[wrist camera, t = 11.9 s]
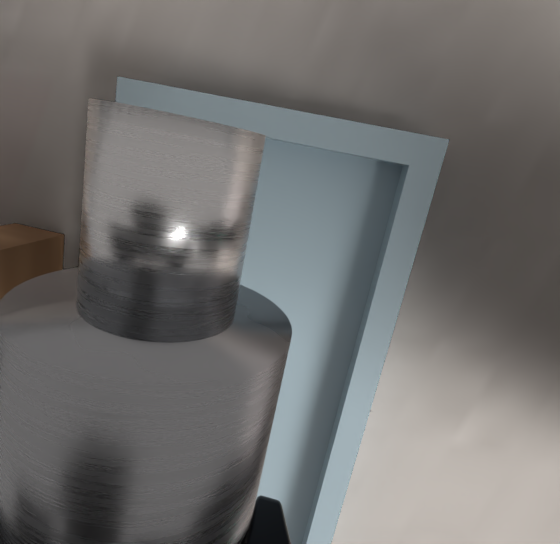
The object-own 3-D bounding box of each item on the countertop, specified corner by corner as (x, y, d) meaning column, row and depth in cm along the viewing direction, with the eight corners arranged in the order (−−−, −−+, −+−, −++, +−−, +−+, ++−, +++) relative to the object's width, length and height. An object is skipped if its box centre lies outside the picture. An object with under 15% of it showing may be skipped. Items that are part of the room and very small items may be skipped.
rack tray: (435, 143, 12) (449, 139, 10) (304, 604, 17) (299, 650, 15) (146, 87, 13) (117, 75, 11) (102, 542, 18) (78, 580, 16)
